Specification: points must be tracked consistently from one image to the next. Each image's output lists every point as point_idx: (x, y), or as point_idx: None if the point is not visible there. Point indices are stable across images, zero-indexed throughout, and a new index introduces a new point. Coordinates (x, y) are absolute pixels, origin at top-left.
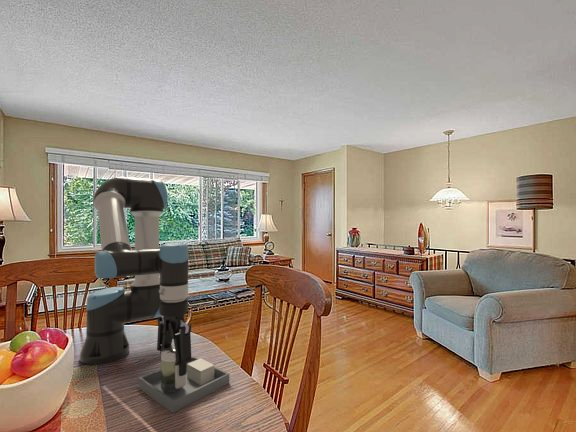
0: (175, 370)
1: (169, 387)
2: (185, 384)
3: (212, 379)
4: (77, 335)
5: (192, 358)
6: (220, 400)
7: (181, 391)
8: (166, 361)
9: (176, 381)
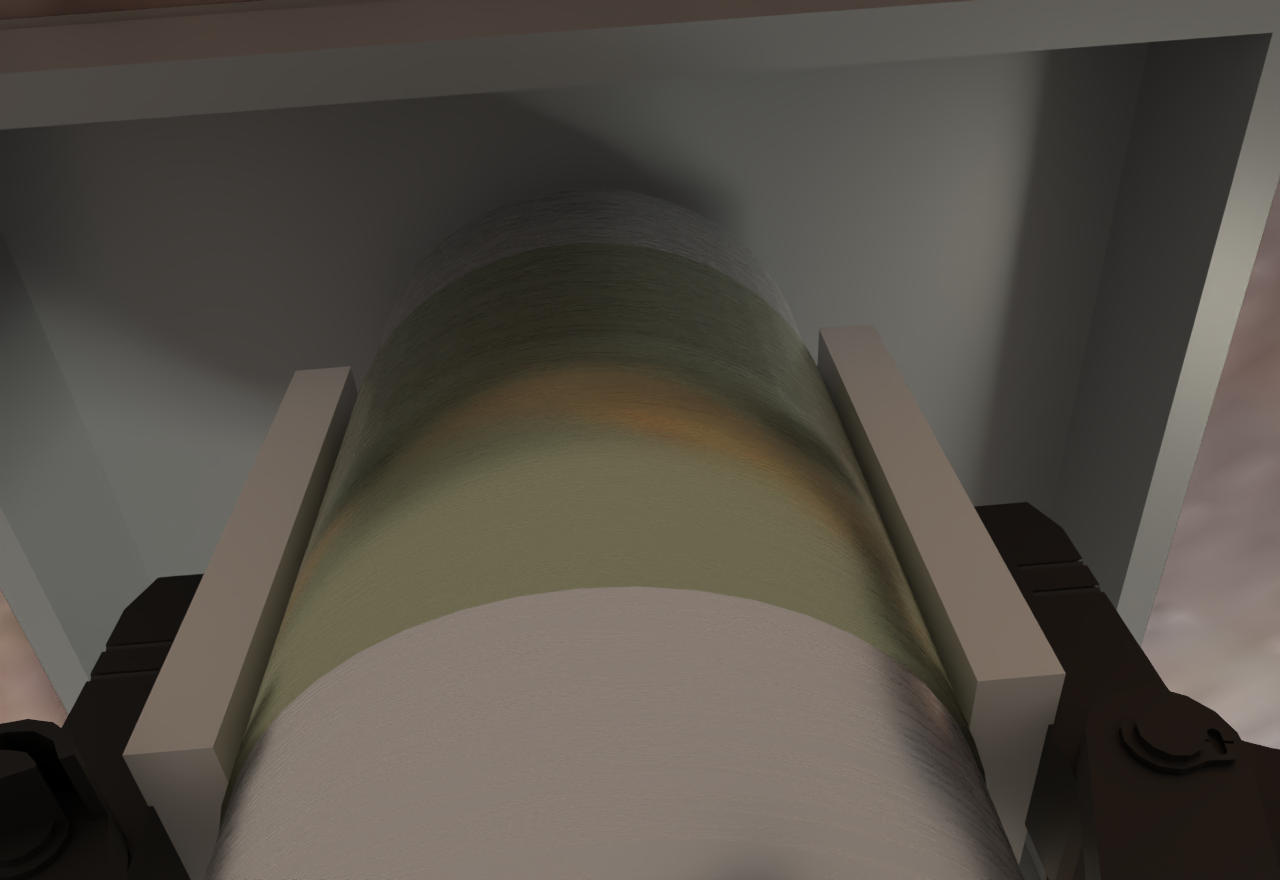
0: (250, 602)
1: (409, 297)
2: None
3: None
4: None
5: (1040, 863)
6: (9, 656)
7: None
8: (369, 649)
9: (262, 449)
